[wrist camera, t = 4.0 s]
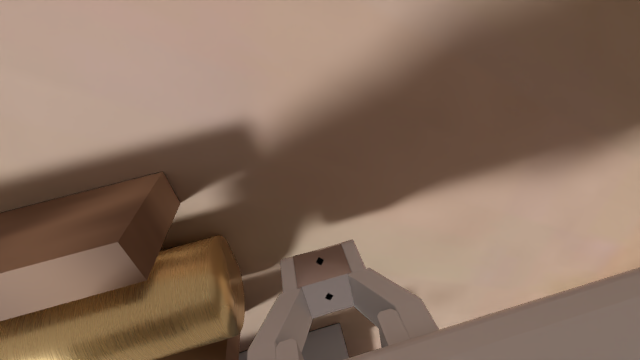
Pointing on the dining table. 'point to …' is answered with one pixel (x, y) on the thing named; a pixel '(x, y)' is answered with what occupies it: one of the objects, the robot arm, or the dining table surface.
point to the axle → (140, 312)
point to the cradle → (321, 345)
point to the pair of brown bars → (90, 249)
